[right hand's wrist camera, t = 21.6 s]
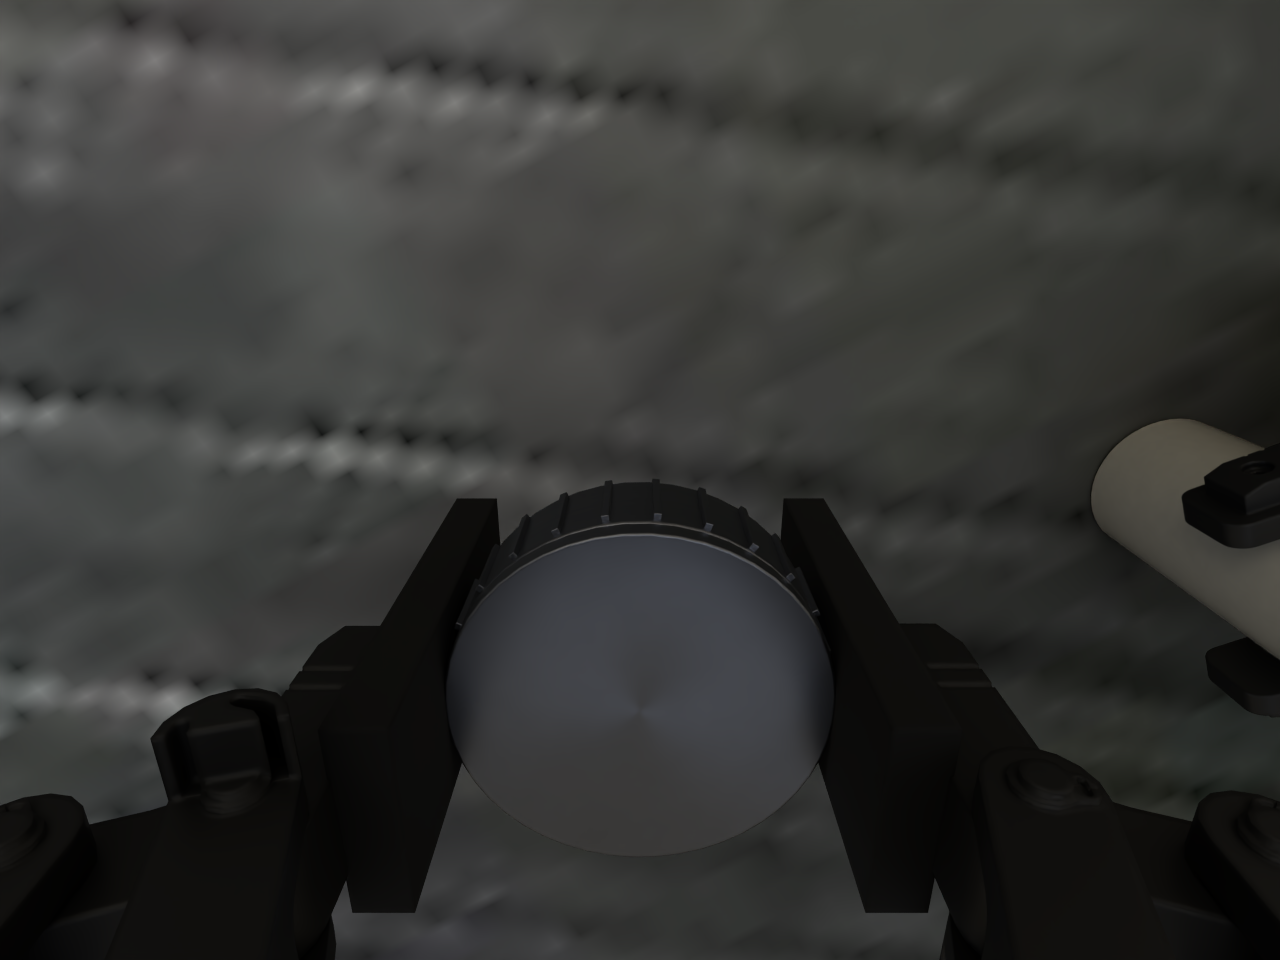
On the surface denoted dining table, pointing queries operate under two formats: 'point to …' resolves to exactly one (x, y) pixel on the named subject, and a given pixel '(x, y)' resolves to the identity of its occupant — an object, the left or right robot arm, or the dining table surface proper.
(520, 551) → the lid
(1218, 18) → the dining table surface
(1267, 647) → the jar
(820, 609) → the right robot arm
